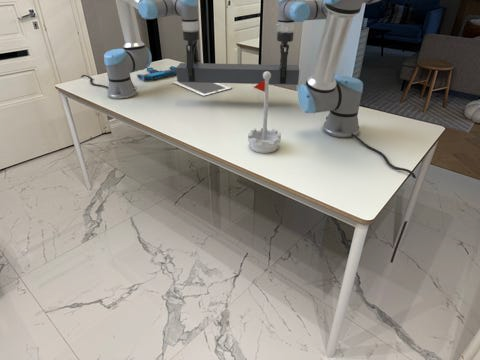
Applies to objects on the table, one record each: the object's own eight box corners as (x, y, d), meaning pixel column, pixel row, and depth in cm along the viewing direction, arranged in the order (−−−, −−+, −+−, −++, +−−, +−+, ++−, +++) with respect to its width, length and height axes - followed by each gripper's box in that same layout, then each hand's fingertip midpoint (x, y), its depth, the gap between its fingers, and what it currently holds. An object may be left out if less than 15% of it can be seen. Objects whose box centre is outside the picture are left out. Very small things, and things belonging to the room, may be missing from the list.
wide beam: (297, 79, 172) (298, 65, 168) (298, 84, 164) (299, 70, 160) (181, 76, 177) (180, 62, 173) (177, 82, 169) (175, 67, 165)
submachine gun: (174, 61, 240) (194, 66, 223) (175, 66, 242) (194, 72, 225) (128, 70, 221) (146, 76, 205) (130, 76, 223) (147, 82, 207)
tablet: (173, 83, 208) (173, 82, 207) (200, 76, 219) (200, 76, 218) (203, 96, 187) (203, 95, 187) (231, 88, 198) (231, 87, 198)
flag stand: (271, 137, 144) (275, 65, 128) (285, 150, 134) (292, 74, 118) (243, 142, 140) (243, 68, 124) (255, 156, 130) (257, 78, 114)
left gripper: (188, 26, 169) (191, 71, 181) (177, 35, 150) (181, 84, 163) (202, 26, 168) (205, 72, 181) (193, 35, 150) (197, 85, 162)
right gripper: (276, 27, 166) (274, 73, 178) (277, 36, 147) (275, 87, 159) (292, 27, 165) (288, 74, 177) (295, 36, 147) (291, 87, 159)
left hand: (194, 78), depth 172 cm, fingers closed on wide beam, 10 cm apart
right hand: (282, 80), depth 168 cm, fingers closed on wide beam, 10 cm apart
